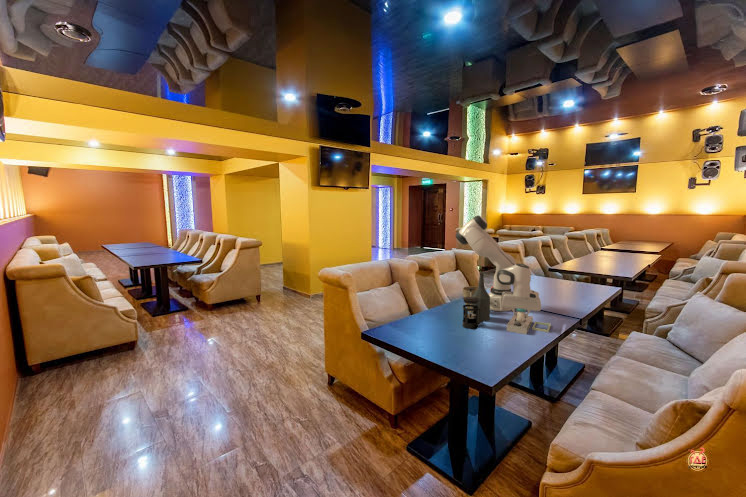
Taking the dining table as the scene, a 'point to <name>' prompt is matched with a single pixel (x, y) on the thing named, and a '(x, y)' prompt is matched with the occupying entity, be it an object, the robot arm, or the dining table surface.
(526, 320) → the white slotted holder
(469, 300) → the french press
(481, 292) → the bottle
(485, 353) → the dining table surface
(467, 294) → the plant pot
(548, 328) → the tray
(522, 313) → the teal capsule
